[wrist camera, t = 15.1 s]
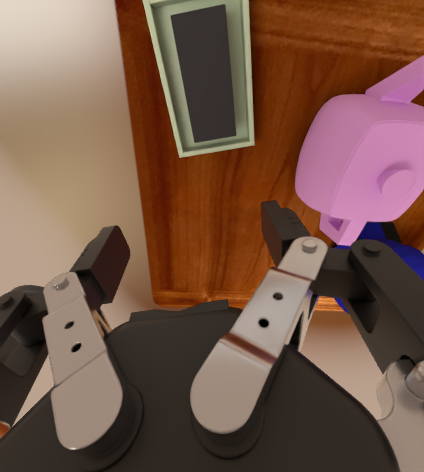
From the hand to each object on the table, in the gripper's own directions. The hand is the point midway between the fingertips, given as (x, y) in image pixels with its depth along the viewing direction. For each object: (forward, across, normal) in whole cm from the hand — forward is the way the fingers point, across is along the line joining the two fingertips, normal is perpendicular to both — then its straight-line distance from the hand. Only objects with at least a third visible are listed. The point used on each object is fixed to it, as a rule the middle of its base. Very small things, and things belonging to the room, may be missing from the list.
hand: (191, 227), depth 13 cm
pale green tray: (+21, -2, -6) cm, 22 cm away
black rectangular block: (+21, -2, -6) cm, 22 cm away
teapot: (+21, -19, +4) cm, 29 cm away
